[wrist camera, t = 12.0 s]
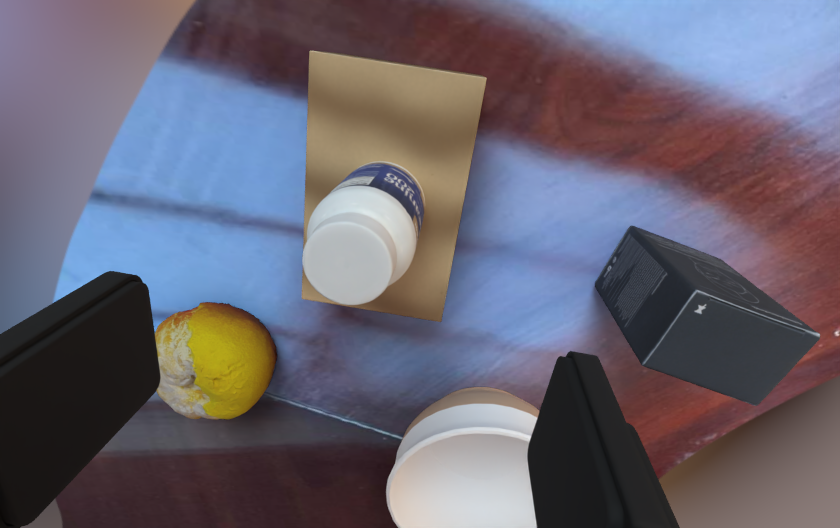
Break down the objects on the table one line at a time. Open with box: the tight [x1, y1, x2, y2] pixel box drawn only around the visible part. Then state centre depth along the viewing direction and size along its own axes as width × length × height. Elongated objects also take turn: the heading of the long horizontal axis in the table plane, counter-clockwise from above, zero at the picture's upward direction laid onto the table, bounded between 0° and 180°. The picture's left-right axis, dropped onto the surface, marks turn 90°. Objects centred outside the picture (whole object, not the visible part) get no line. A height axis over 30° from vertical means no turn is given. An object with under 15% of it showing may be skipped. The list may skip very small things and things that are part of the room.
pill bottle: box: [303, 161, 425, 305], centre depth 24 cm, size 5×5×10 cm
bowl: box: [386, 387, 540, 528], centre depth 39 cm, size 16×16×8 cm
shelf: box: [302, 51, 487, 322], centre depth 31 cm, size 16×10×6 cm, turn 172°
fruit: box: [155, 302, 277, 420], centre depth 39 cm, size 11×10×8 cm
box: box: [595, 226, 820, 406], centre depth 30 cm, size 8×6×11 cm
